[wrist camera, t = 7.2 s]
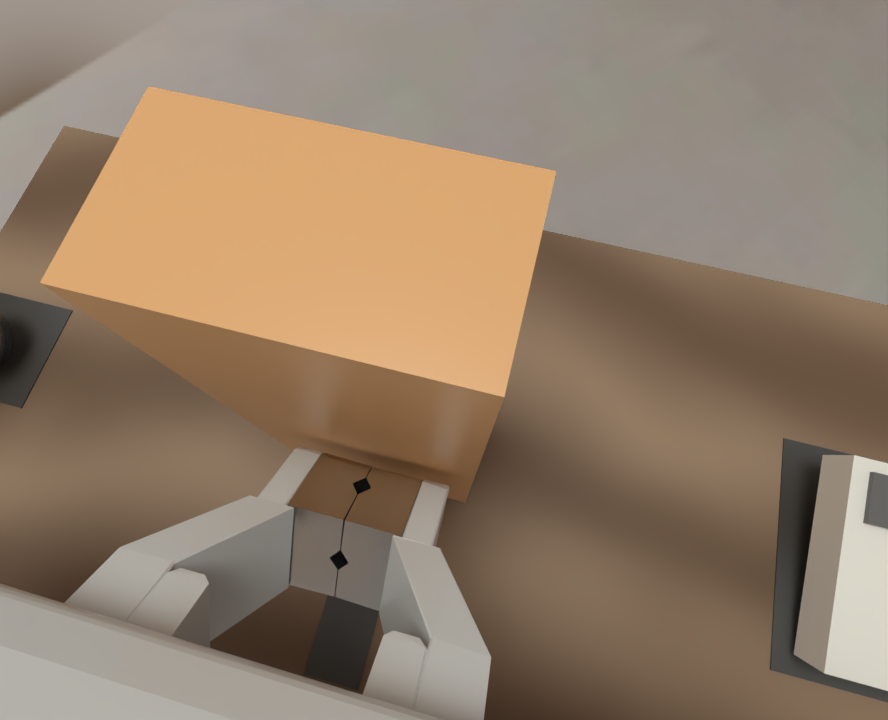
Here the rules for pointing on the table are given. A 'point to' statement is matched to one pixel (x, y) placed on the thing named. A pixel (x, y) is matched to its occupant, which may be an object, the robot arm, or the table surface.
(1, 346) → the brass toggle lever
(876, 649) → the block
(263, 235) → the orange rectangular block
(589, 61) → the table surface
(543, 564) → the panel
